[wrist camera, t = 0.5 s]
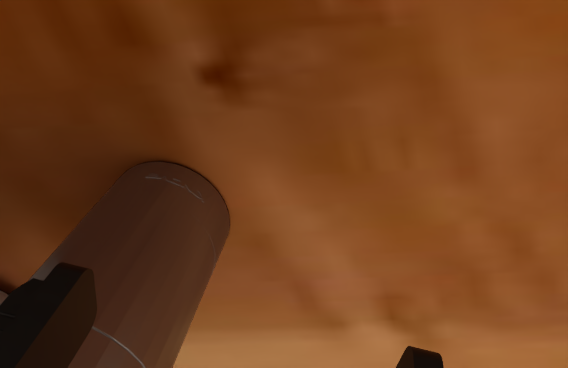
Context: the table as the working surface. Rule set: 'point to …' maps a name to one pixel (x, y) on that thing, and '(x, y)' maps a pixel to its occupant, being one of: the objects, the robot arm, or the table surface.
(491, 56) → the table surface
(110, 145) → the table surface
